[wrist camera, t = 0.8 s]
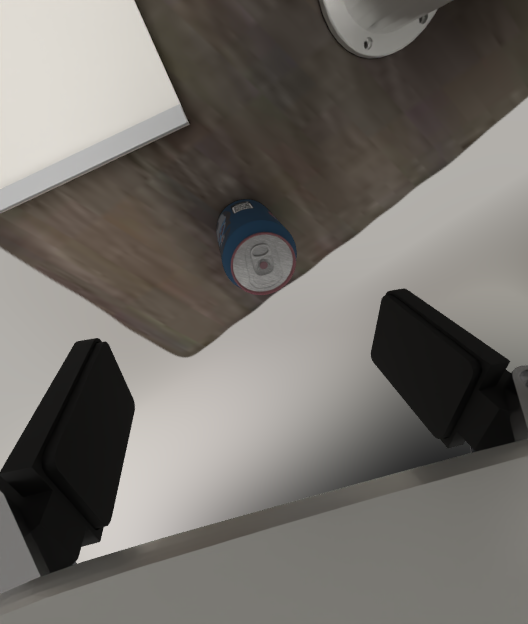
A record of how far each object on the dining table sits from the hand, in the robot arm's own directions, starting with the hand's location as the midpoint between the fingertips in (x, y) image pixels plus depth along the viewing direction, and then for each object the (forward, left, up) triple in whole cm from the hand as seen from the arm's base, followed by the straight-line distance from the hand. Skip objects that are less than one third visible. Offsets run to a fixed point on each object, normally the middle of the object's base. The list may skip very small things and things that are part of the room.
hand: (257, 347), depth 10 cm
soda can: (-2, +4, -27) cm, 27 cm away
